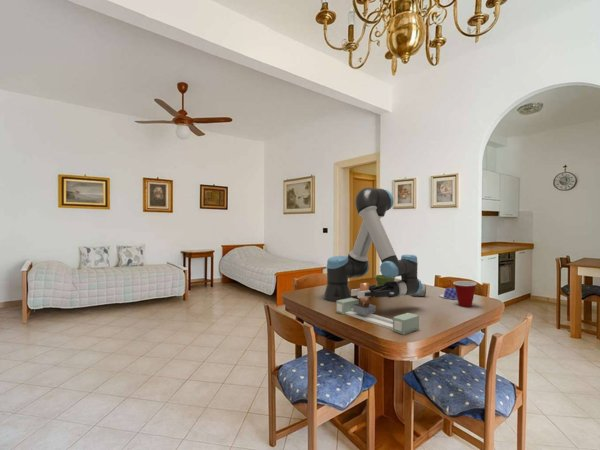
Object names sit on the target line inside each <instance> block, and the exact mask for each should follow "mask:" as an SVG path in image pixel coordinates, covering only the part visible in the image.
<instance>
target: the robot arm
mask: <svg viewBox="0 0 600 450" xmlns="http://www.w3.org/2000/svg"><path fill="white" fill-rule="evenodd" d="M392 194H393V193H392V192H390V191H389V190H387V189H384V188H375V187H364V188H362V189H361V190H359V192H357V194H356V196H355V200H354V201H355V203H354V204H355V207H356V208H355V209H356V211H357V213H358V216H360V217H361V218H362V223H361V225H360V228H359V230H358V234H357V237H356V239H355V242H354V245H353V248H352V250H351V251H349V252H348V255H335V256H331V257H329V258H328V259H327V263H326V288H325V291H324V294H323V299H324V300H326V301H330V302H336V301H337V300H342V299H347V298H352V297H357V298H358V299H360V298H364V297H369V298H370V297H371V298H384V297H387V298H389V299H391V298H396V297H397V298H400V297H403V296H411V295H414V294H417V293H420V292H421V290H422V284H423V282H422V281H421V280H420V279H419V278H418V257H417V255H414V254H402V255H401V257H400V259H398V257H397V255H396V252H395V249H394V247H393V245H392V244H391V242H390V239H389V237H388V235H387V232H386V230H385V227H384V225H383V223H382V221H381V218H384V217H385V215H386V213H387V211H389V210H391V209H392V207H393V206H394V196H393V195H392ZM372 243H373V246H374V248H375V250H376V253H377V254H378V257H379V260H380V261H381V264H380V266H379V269H380V270H379V271H380V275H383V276H384V277H387V278H391V277H392V278H393V277H395V278H396V277H401V278H400V279H397V280H394V281H388V282H386V283H385V284H384V285H380V286H378V285H377V284H373V285H369V290H368V291H360V288H355V289H353V288H352V289H351V290H350V287H349V279H352V278H360V277H363V276H366V275H367V273H368V271H369V269H370V264H369V258H368V253H369V251H370V249H371V248H370V247H371V245H372ZM357 298H356V299H357Z"/></svg>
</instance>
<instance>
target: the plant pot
mask: <svg viewBox="0 0 600 450" xmlns="http://www.w3.org/2000/svg"><path fill="white" fill-rule="evenodd" d="M374 277H375V280H376V286H380V285H384V284H385V283H386V282H388V281H395V279H396V277H393V278H392V277H391V278H387V277H384V276H383V275H382V274H376V275H374Z"/></svg>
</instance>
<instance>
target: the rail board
mask: <svg viewBox="0 0 600 450" xmlns="http://www.w3.org/2000/svg"><path fill="white" fill-rule="evenodd" d="M335 302H336V303H335V305H336V306H335V307H336V308H335V309H336V311H335V312H336V313H338V314H340V315H344V316H345V315H346V316H349V317H352V318H356V319H357V320H358V319H359V320H361V321H365V322H367V323H371V324H374V325H376V326H380V327H383V328H385V329H389V330H392V331H393V332H394V333H398V334H400V335H403V336H404V335H407V334H411V333H414V332H416V331H419V330H420V315H418V314H415V313H410V312H406V313H401V314H398V315H395V316H392V318H388V317H384V316H381V315H378V314H374V313H371V314H368V315H363V314H360V313H357V312H353V305H355V304H359V303H360V299H359V298H358V299H357V298H354V297H351V298H347V299H342V300H337V301H335Z"/></svg>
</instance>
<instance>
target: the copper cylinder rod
mask: <svg viewBox="0 0 600 450" xmlns="http://www.w3.org/2000/svg"><path fill="white" fill-rule="evenodd" d="M369 286H370V283H369V282H368V281H367V282H365V281H364V282H363V281H362V282H359V289H360V291H368V290H369ZM376 309H377V307H376V305H374V304H371V303H370V297H364V298H359V304H355V305H353V312H357V313H360V314H363V315H368V314H374V313H377V311H376Z"/></svg>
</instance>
